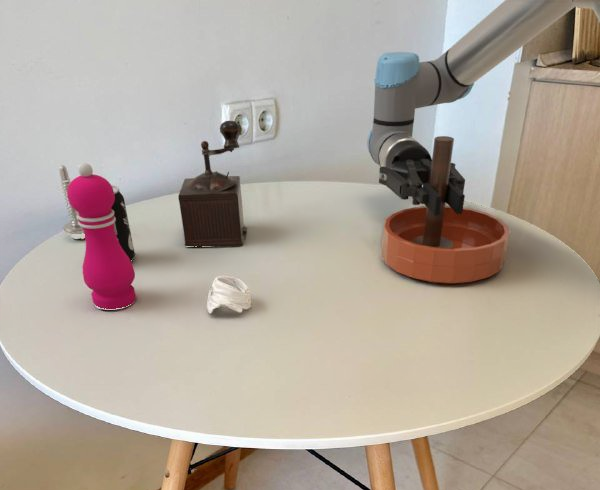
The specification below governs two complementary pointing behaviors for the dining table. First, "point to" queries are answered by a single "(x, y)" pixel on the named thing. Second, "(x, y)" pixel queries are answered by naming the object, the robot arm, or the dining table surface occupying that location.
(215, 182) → the manual coffee grinder
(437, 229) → the brown peg stand
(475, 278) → the bowl
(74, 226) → the screw
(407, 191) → the robot arm
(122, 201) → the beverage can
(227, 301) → the white turban
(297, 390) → the dining table surface
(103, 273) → the pepper mill
